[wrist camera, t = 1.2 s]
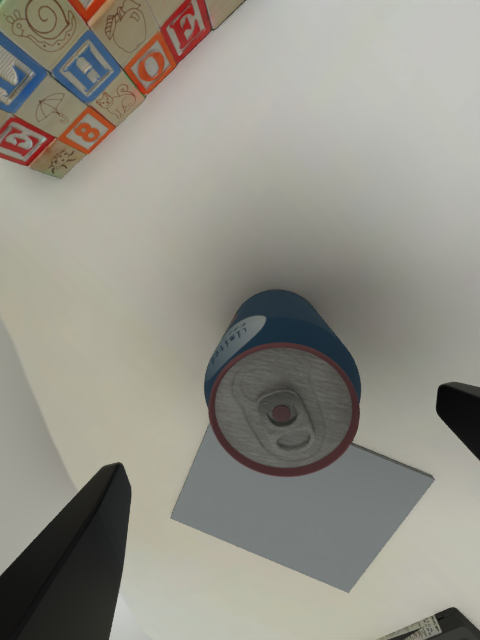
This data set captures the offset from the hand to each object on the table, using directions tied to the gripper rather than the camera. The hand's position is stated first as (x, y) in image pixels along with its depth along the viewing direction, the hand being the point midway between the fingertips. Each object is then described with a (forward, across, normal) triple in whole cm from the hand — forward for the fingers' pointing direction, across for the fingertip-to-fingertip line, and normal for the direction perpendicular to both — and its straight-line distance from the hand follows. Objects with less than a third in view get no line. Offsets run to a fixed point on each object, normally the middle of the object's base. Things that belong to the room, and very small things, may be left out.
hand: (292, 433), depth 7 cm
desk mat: (+13, -3, +19) cm, 23 cm away
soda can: (+14, -4, +2) cm, 15 cm away
